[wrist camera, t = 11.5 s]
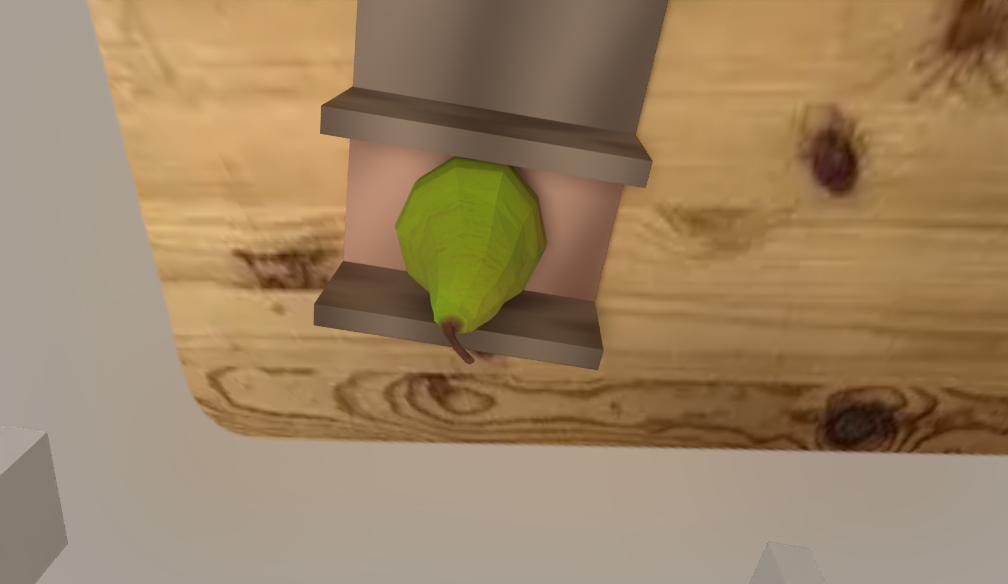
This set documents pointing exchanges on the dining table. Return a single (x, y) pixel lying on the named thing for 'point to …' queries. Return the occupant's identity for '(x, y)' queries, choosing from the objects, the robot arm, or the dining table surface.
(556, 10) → the rack
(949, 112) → the dining table surface
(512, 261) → the fruit
